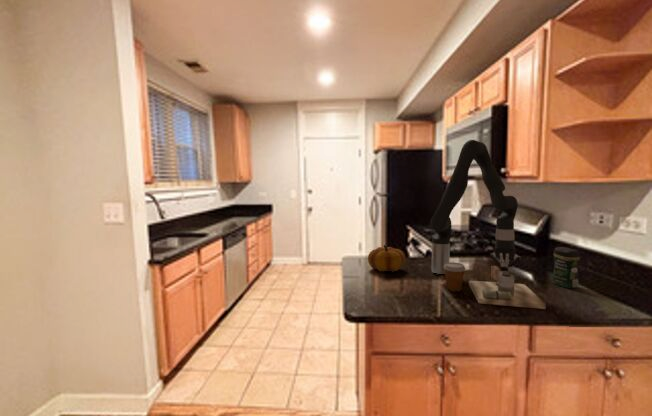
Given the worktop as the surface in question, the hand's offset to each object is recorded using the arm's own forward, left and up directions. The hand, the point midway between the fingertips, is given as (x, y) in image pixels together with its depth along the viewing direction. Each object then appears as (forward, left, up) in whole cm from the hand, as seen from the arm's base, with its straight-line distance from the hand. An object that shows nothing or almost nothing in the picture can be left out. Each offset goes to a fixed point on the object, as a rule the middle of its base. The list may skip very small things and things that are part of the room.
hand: (504, 274), depth 138 cm
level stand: (-3, -8, -7) cm, 11 cm away
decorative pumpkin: (-57, +20, -7) cm, 61 cm away
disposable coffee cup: (-23, -5, -7) cm, 24 cm away
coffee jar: (+29, +13, -7) cm, 33 cm away
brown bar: (-3, -6, -5) cm, 8 cm away
